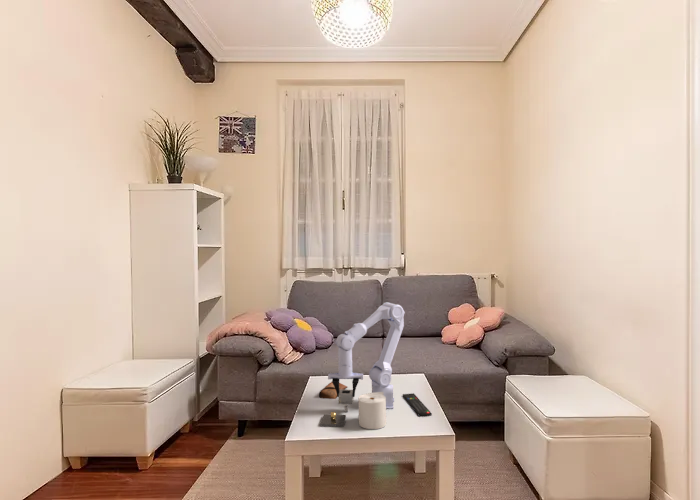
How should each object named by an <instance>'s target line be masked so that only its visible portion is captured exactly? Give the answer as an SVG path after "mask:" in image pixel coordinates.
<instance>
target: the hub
mask: <svg viewBox="0 0 700 500" xmlns="http://www.w3.org/2000/svg"><path fill="white" fill-rule="evenodd" d="M346 420H347V414H337V413H336V411H331V412H330V414H325V413H324V414H323V415H322V418H321V420H320V422H319V423H320V424H319V426H320V427H327V428H329V427H331V428H334V427H335V428H344V426H345V423H346Z"/></svg>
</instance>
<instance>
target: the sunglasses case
mask: <svg viewBox="0 0 700 500" xmlns="http://www.w3.org/2000/svg"><path fill="white" fill-rule="evenodd" d="M340 389H344V390H347V389H348V386H347V385H345V384H343V383H341V382H339V390H340ZM318 397H319V398H320V399H329V400H336V399H337V398H338V397H337V392H336V389H335V387H334V385H333V383H332V381H331V382H329V383H328V384H327V385H326V386H324V388H322V389H321V390H320V391H319V393H318Z"/></svg>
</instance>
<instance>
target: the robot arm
mask: <svg viewBox="0 0 700 500" xmlns="http://www.w3.org/2000/svg"><path fill="white" fill-rule="evenodd" d="M405 313H406V312H405V310H404V308H403V306H402V305H401V304H395V303H392V302H388V301H386V302H383V304H382V305H380V306H378V308H377V309H376V310H374V312H373V313H371V315H370V316H368V317H367V318H366V319H365V320H363V322H357V323H354V324H352V327H350V329H348V330H345V331H344V333H341V334H339V335H338V336H337V338H336V340H335V345H336V346H337V348H338V349H337V357H338V358H337V360H338V361H337V362H338V364H337V365H338V372H335V373H334V372H333V373H330V372H329V373H328V374H327V379H328V380H332V381H331V382H332V383H333V385H334V387H335V389H336V392H337V398H339V391H340V390H339V383H340V380H352V381H351V382H352V390H353V398H355V395H356V390H357V386H358V384H359V382H360V381H359V380H361V381H362V380H364V373H359V372H353V348H354V346H355V343H356V342H358V341H359V340H360V339H362V338H363V337H364V336H365V335H366V334H367V332H368V330H369V328H372V327H373V326H374V325H375V324H376V323H378V322H380V321H381V320H387V322H388V323H389V326H390V327H389V330H388V333H387V335H386V337H385V341H384V343H383V346H382V349H381V352H380V355H379V357H378V360H377V361H375V362H373V363H374V364H373V365H372V367H371V368H370V370H369V371H368V377H369V379H370V380H371V393H373V392H384V396H385V397H386V409H394V403H395V397H394V384H391V381H392V374H393V368H392V366H391V365H392V361H393V359H394V355H395V352H396V351H397V348H398V347H397V346H398V344H399V340H400V339H401V335H402V333H403V330H404V327H405V322H404V321H405V320H404V318H405V317H404V316H405Z"/></svg>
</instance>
